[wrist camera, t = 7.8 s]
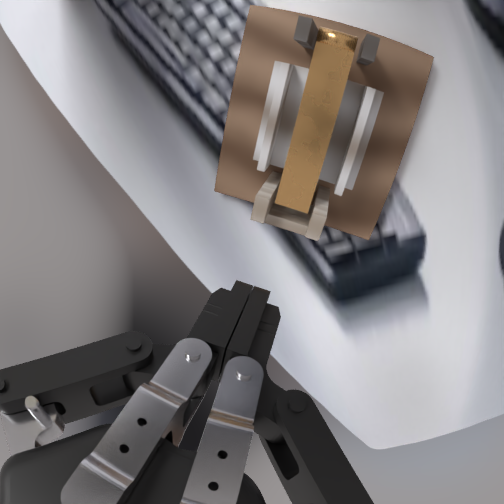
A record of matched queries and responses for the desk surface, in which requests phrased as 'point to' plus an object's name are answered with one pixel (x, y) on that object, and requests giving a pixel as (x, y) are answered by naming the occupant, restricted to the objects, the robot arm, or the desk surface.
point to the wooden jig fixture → (345, 129)
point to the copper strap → (316, 117)
